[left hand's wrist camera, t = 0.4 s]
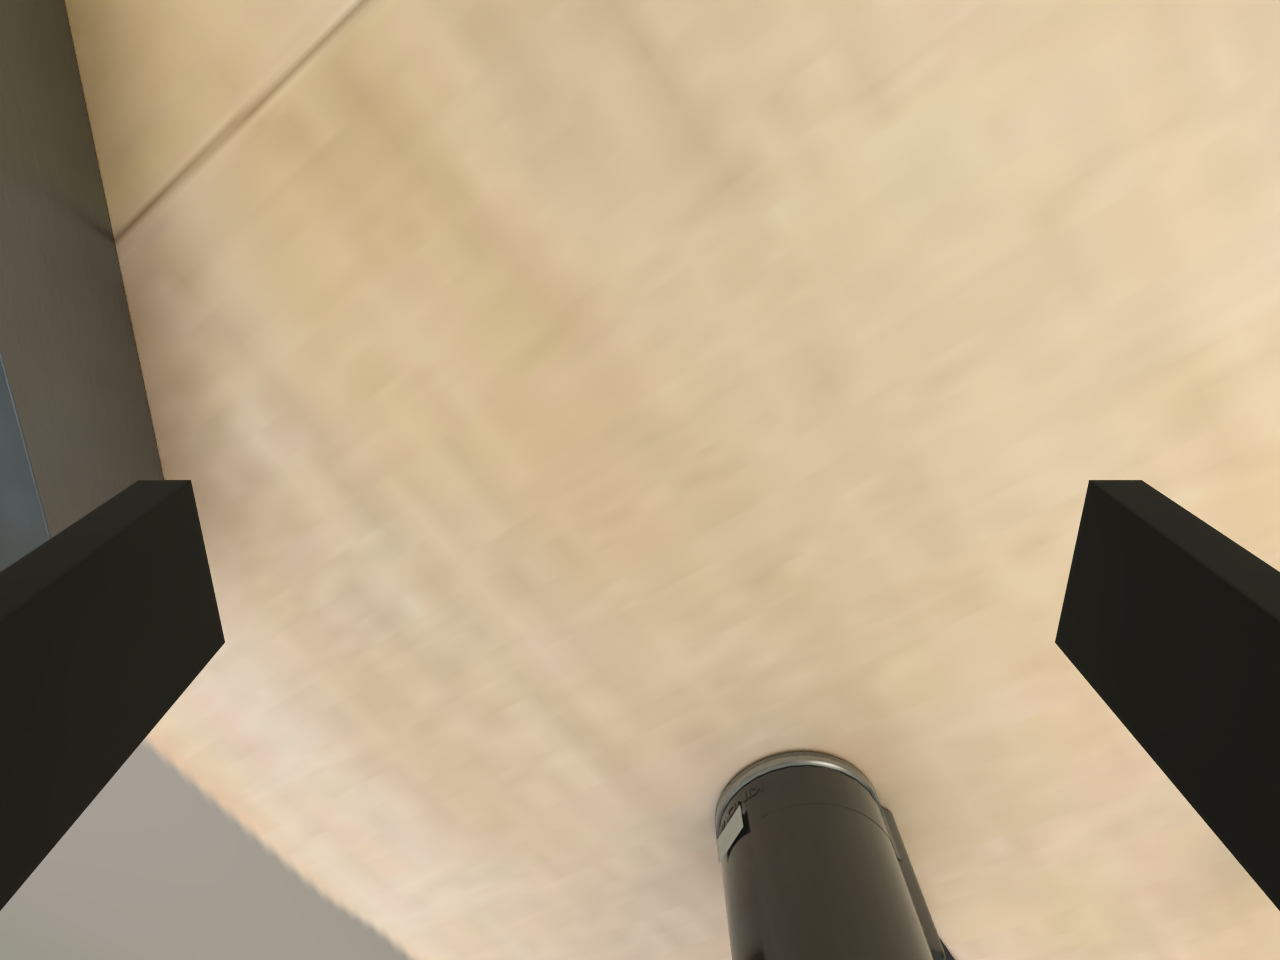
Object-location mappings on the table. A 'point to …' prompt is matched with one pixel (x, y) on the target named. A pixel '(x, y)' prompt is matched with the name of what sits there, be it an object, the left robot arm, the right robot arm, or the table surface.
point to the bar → (59, 299)
